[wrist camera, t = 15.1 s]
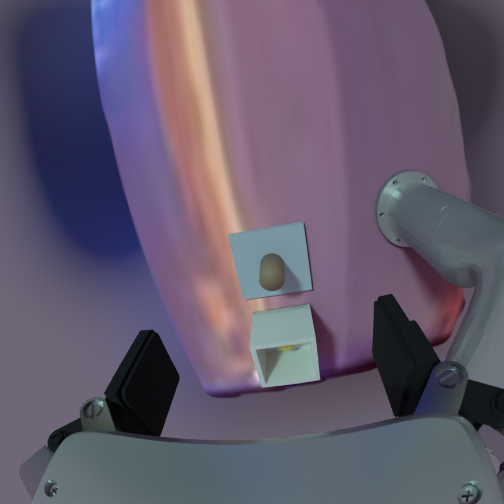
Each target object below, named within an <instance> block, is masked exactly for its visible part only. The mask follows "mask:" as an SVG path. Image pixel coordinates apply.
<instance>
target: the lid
mask: <svg viewBox="0 0 504 504" xmlns="http://www.w3.org/2000/svg"><path fill="white" fill-rule="evenodd" d="M228 237H229V241H230V245H231V249H232V254H233V258H234V262H235V266H236V270H237V274H238V278H239V282H240V286H241V290H242V294H243V298H244V299H252V298H259V297H266V296H273V295H280V294H287V293H293V292H300V291H306V290H312V285H311V276H310V268H309V260H308V253H307V245H306V238H305V231H304V224H303V222H298V223H292V224H286V225H280V226H274V227H268V228H262V229H256V230H250V231H245V232H239V233H233V234H229V235H228Z"/></svg>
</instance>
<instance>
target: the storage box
mask: <svg viewBox="0 0 504 504" xmlns="http://www.w3.org/2000/svg"><path fill="white" fill-rule="evenodd" d="M249 348H250V351H251V354H252V357H253V360H254V364H255V367H256V370H257V373H258V376H259V380H260V383H261V386H262V387H271V386H280V385H288V384H296V383H303V382H309V381H315V380H320V375H319V364H318V355H317V345H316V337H315V331H314V326H313V321H312V315H311V310H310V305H309V304H307V305H301V306H295V307H289V308H283V309H276V310H270V311H263V312H256V313H253V317H252V326H251V335H250V344H249Z"/></svg>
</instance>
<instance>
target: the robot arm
mask: <svg viewBox="0 0 504 504" xmlns="http://www.w3.org/2000/svg"><path fill="white" fill-rule="evenodd" d="M422 178H423V179H422ZM393 181H394V183H393ZM381 213H382V214H381ZM380 214H381V215H380ZM376 219H377V224H378V226H379V228H380V230H381V232H382V233H383V235H384V236H385V237H386V238H387V239H388V240H389V241H391V242H392V243H393V244H395V245H398V246H402V247H411V248H412V249H414V250H415V251H416V252H417V253H418V254H419V255H420V256H421V257H422V258H423V259H424V260H425V261H426V262H427V263H428V264H430V265H431V266H432V267H433V268H434V269H435V270H436V271H437V272H438V273H439V274H440V275H441V276H442V277H443V278H444V279H445V280H446V281H447V282H449V283H450V284H452V285H454V286H457V287H462V288H470V287H475V290H474V293H473V296H472V299H471V301H470V304H469V307H468V310H467V312H466V314H465V317H464V319H463V321H462V324H461V326H460V328H459V330H458V332H457V334H456V336H455V338H454V341H453V343H452V345H451V347H450V349H449V351H448V354H447V357H446V360H445V361H444V362H440V360H439V358H438V356H437V354H436V353H435V351H434V349H433V348H432V346H431V344H430V343H429V341H428V340H427V338H426V336H425V335H424V333H423V332H422V330H421V328H420V327H419V325H418V324H417V322H416V321H414V320H413V321H409V319H408V318H407V316H406V315H405V313H404V312H403V310H402V308H401V307H400V305H399V304H398V302H397V301H396V299H395V298H394V296H393V295H392V294H389V295H384V296H380V297H378V301H375V302H374V324H373V346H372V352H373V357H374V360H375V362H376V365H377V368H378V370H379V373H380V376H381V378H382V381H383V384H384V387H385V390H386V393H387V396H388V399H389V402H390V404H391V408H392V411H393V414H394V416H395V417H397V416H399V417H398V418H393V419H389V420H384V421H380V422H375V423H371V424H366V425H362V426H357V427H352V428H347V429H341V430H335V431H330V432H323V433H317V434H309V435H302V436H294V437H282V438H270V439H254V440H198V439H197V440H196V439H180V438H167V437H160V435H161V433H162V430H163V427H164V424H165V421H166V417H167V414H168V412H169V409H170V406H171V403H172V400H173V397H174V394H175V391H176V388H177V385H178V382H179V374H178V372H177V370H176V368H175V366H174V364H173V362H172V360H171V359H170V357H169V354H168V353H167V351H166V349H165V347H164V345H163V343H162V340H161V338H160V336H159V335H158V333H155V331H154V330H142V331H140V332H139V334H138V335H137V337H136V339H135V340H134V342H133V344H132V345H131V347H130V349H129V351H128V352H127V354H126V356H125V357H124V359H123V361H122V362H121V364H120V366H119V368H118V370H117V371H116V373H115V375H114V376H113V378H112V380H111V382H110V384H109V385H108V387H107V389H106V391H105V393H104V394H105V395H106V398H105V399H103V398H101V397H94V398H91V399H89V400H87V401H86V402H85V403H84V404H83V406H82V407H81V410H80V418H79V419H77V420H75V421H73V422H71V423H69V424H67V425H65V426H63V427H61V428H59V429H57V430H55V431H54V432H53V433H52V434H51V435H50V437H49V439H48V447H46V446H45V445H44V446H43V447H42V448H41V449H40V450H38V451H37V452H36V453H35V454H34V455H32V456H31V457H30V458H29V459H28V460H26V461H25V462H24V463H23V464H22V465H21V467H20V472H19V474H20V477H21V479H22V481H23V483H24V485H25V487H26V489H27V491H28V493H29V495H30V497H31V499H32V500H33V501H32V504H504V218H503V217H500V216H498V215H495V214H493V213H490V212H489V211H486V210H484V209H482V208H480V207H478V206H475V205H473V204H471V203H469V202H467V201H464V200H462V199H460V198H458V197H456V196H453V195H451V194H448V193H446V192H443V191H441V190H439V189H438V188H437V186H436V184H435V183H434V182H433V180H432V179H431V178H429V177H428V176H427V175H425V174H423V173H420V172H417V171H403V172H400V173H397V174H396V175H394V176H392V177H391V178H390V179H389V180H388V181H387V182H386V183H385V185H384V186H383V187H382V189H381V191H380V193H379V195H378V199H377V202H376ZM486 447H488V448H489V449H490V450H492V452H491V454H493V455H494V456H496V458H497V459H498V460H499V463H500V468H499V472H498V474H496V471H495V469H494V466H493V463H492V461H491V458H490V456H489V453H488V451H487V449H486ZM461 487H462V488H461Z"/></svg>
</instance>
